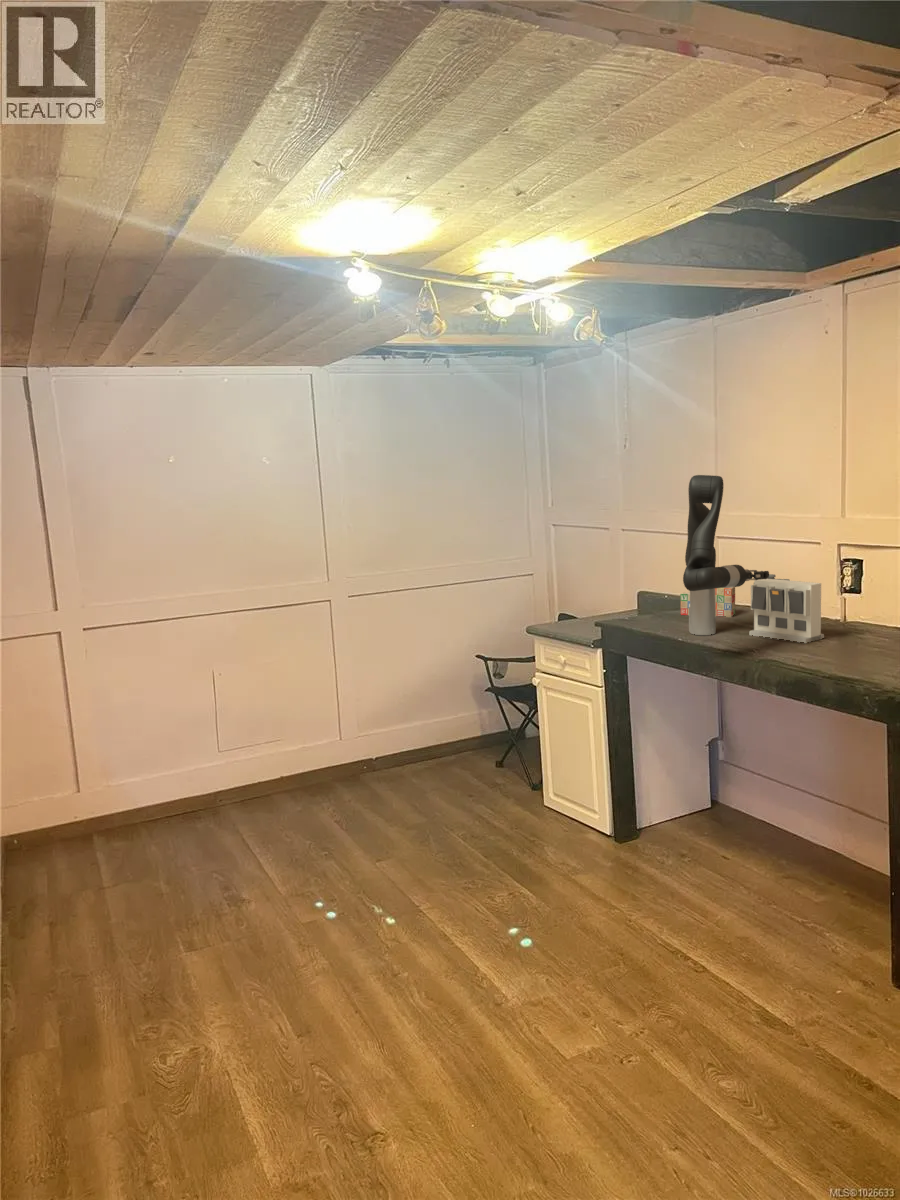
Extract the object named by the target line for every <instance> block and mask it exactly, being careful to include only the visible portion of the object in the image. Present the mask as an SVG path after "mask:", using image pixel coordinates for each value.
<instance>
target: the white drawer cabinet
mask: <svg viewBox="0 0 900 1200" xmlns="http://www.w3.org/2000/svg"><path fill="white" fill-rule="evenodd" d="M777 579H778V578H775V579H759V580H753V584H751V585H750V610H752V611H753V629H752V630H751V629H750V630H749V631H748V632H749V635H748V636H752V635H753V637H759V636H763V637H762V638H765V637H770V638H769V639H772V638H777V639H776V640H779V639H784V640H783V641H786V640H790V641H789V642H793V641H797V642H796V643H800V642H804V643H803V644H808V643H807V642H809V643H812V642H811V641H813V642H815V640H816V641H820V640H822V638H824V639H825V634H824V633H822V624H821V623H822V583H821V582H820V583H819V582H813V581H812V582H810V581H801V580H799V581H798V580H790V579H789V580H790V581H789V580H777ZM754 587H765V588H766V610H760V609H753V608H751V606H752V599H753V593H754ZM771 588H774V589H784V592H785V595H784V612H779V611H772V605H771V599H770V592H769V590H770V589H771ZM790 590H795V591H803V593H804V614H797V613H791V610H790V603H789V596H788V591H790ZM819 639H820V640H819Z"/></svg>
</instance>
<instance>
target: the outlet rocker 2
mask: <svg viewBox="0 0 900 1200" xmlns="http://www.w3.org/2000/svg"><path fill="white" fill-rule="evenodd" d="M788 596H789V603H790V610H791V613H797V614H804V593H803V591H795V590H790V591H788Z"/></svg>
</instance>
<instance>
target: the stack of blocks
mask: <svg viewBox="0 0 900 1200" xmlns="http://www.w3.org/2000/svg"><path fill="white" fill-rule="evenodd" d="M679 598H680V615H681V616H689V607H690V591H683V592H682V593H680V597H679ZM715 606H716V616H726V617H725V618H732V617H731V616H733V615H734V614H735V615H736V587H731V588H715ZM735 615H734V616H735ZM734 616H733V617H734Z"/></svg>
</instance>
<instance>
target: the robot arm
mask: <svg viewBox="0 0 900 1200" xmlns="http://www.w3.org/2000/svg"><path fill="white" fill-rule="evenodd" d="M723 496H724V478H723V477H722V476H720V475H710V474H709V475H708V474H697V475H692V476H691V478H690V479H689V482H688V517H687V541H686V542H687V544H686V548H685V557H684V558H685V559H684V561H685V566H686V567H685V569H684V571H683V572H684V573H683V577H682V581H683V583H682V584H683V586H684V588H686V589H687V590H688V592H690V607H689V615H688V632H689V633H690V634H691V635H694V634H695V636H711V634H712V635H715V634H716V632H717V630H716V625H717V623H716V621H717V620H716V619H717V618H716V606H715V588H731V587H735V588H738V587H742V586H743V585H744V584H745V583H746V582H749V581H754V580H759V579H767V577H769V574H770V571H769V570H757V569H747V568H746V569H745V568H744V567H743V566H742V565H740V564H729V565H721V566H716V563H717V554H716V553H717V552H716V547H715V537H716V533H717V532H716V531H717V527H718V523H719V518H720V513H721V508H722V502H723ZM705 504H711V507H710V508H709V507H708V506H707V505H705Z"/></svg>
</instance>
